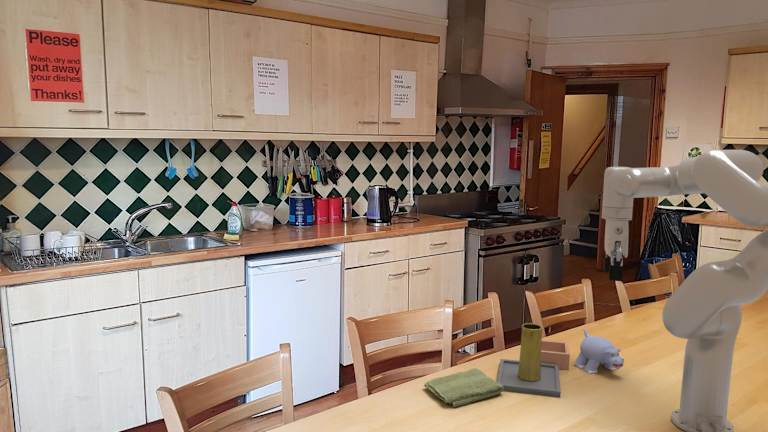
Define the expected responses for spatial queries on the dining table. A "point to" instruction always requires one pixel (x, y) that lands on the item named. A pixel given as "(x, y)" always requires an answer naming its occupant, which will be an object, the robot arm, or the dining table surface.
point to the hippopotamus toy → (598, 354)
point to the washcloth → (464, 387)
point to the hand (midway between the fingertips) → (612, 276)
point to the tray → (544, 386)
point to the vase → (530, 352)
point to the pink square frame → (555, 353)
